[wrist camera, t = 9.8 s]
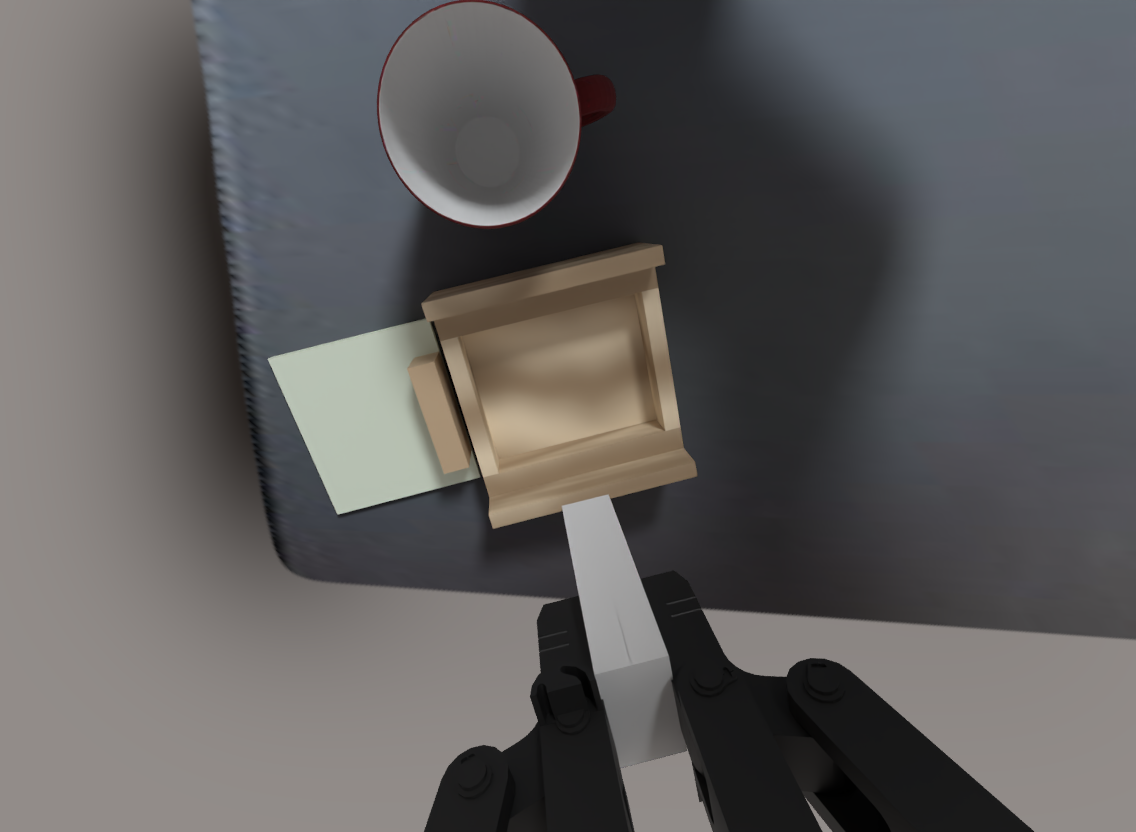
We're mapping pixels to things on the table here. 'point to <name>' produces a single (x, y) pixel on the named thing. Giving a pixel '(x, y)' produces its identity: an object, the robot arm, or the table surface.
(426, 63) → the mug
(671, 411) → the birch box
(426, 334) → the lid
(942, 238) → the table surface
